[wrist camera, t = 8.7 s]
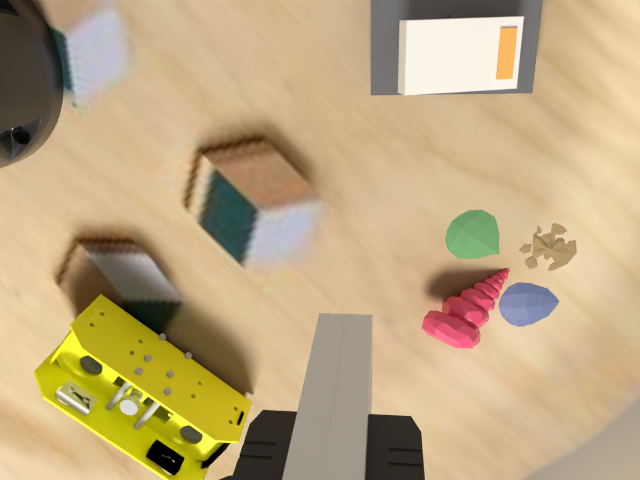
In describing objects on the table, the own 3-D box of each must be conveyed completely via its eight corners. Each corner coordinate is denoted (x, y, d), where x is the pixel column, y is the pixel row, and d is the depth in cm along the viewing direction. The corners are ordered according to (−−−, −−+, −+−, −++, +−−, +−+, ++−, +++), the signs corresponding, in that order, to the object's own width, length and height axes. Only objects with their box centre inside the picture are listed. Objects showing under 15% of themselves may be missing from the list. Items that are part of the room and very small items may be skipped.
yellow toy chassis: (75, 329, 50) (19, 388, 42) (106, 287, 48) (53, 340, 40) (220, 430, 52) (191, 502, 45) (256, 394, 50) (232, 463, 43)
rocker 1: (397, 92, 33) (405, 95, 32) (399, 20, 32) (407, 20, 31) (506, 86, 35) (517, 88, 33) (513, 16, 33) (524, 16, 32)
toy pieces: (522, 361, 46) (534, 395, 42) (400, 305, 46) (401, 334, 41) (611, 240, 42) (635, 266, 38) (476, 176, 41) (486, 195, 37)
